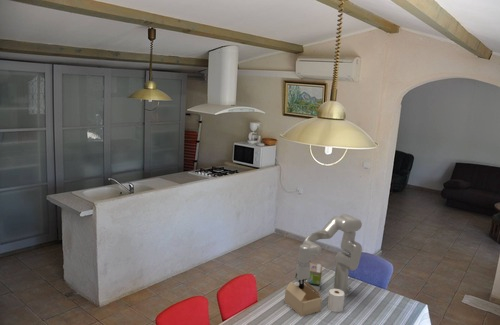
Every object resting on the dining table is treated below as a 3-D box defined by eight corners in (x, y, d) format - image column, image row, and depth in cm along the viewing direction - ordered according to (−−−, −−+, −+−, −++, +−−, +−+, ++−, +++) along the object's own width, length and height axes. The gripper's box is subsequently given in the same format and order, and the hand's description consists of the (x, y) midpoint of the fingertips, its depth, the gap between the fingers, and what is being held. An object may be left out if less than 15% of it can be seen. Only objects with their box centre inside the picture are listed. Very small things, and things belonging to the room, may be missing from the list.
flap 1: (290, 281, 278) (290, 281, 278) (306, 293, 263) (305, 293, 263) (286, 288, 277) (286, 288, 277) (301, 301, 262) (300, 301, 262)
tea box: (319, 291, 298) (321, 272, 295) (306, 288, 300) (308, 270, 297) (320, 281, 312) (322, 264, 309) (307, 279, 314) (309, 262, 311)
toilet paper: (342, 313, 269) (343, 297, 267) (326, 310, 272) (328, 294, 270) (343, 306, 279) (345, 290, 276) (328, 302, 282) (330, 287, 280)
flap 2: (305, 284, 285) (305, 284, 285) (320, 296, 270) (321, 296, 270) (302, 279, 282) (302, 278, 282) (317, 290, 267) (317, 290, 267)
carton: (302, 296, 288) (303, 283, 286) (320, 311, 270) (322, 298, 268) (284, 301, 281) (285, 288, 279) (301, 316, 263) (302, 303, 261)
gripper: (309, 259, 275) (306, 283, 278) (291, 262, 268) (289, 287, 271) (315, 263, 269) (313, 288, 272) (297, 267, 261) (295, 292, 265)
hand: (301, 288), depth 272 cm, fingers closed
